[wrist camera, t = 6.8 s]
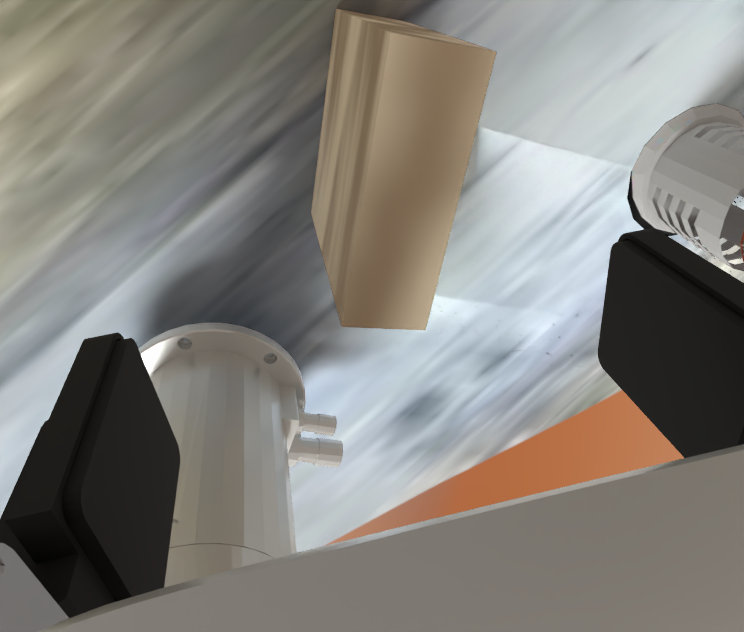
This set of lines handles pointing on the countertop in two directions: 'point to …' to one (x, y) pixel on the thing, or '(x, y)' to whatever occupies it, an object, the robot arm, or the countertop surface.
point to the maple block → (393, 163)
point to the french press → (694, 180)
